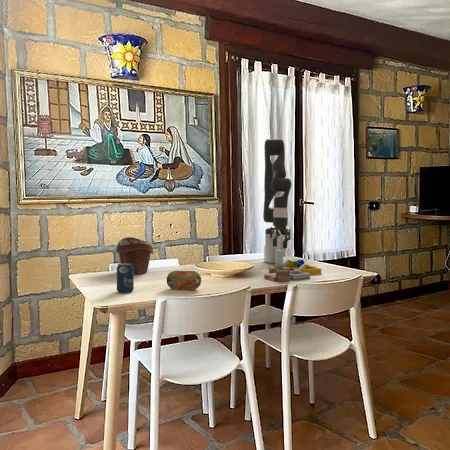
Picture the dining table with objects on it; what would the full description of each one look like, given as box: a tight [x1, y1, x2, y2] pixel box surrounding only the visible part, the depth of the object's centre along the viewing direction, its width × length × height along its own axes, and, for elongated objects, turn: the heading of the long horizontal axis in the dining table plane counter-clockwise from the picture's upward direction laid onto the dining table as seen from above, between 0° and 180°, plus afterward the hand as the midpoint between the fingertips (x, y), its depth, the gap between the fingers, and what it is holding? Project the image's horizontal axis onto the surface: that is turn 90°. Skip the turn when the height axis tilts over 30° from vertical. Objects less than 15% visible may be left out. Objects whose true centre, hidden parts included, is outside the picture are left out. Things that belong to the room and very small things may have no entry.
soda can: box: [116, 262, 135, 294], centre depth 191 cm, size 7×7×12 cm
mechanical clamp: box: [274, 259, 322, 276], centre depth 247 cm, size 18×6×30 cm
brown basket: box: [116, 236, 154, 276], centre depth 236 cm, size 18×20×18 cm
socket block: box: [268, 266, 290, 274], centre depth 239 cm, size 8×8×3 cm
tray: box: [290, 270, 311, 281], centre depth 228 cm, size 10×10×2 cm
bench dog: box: [275, 270, 291, 283], centre depth 219 cm, size 3×6×5 cm, turn 121°
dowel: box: [275, 249, 284, 269], centre depth 239 cm, size 4×4×12 cm
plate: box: [263, 273, 277, 282], centre depth 224 cm, size 8×8×2 cm
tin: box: [166, 270, 202, 292], centre depth 198 cm, size 15×3×8 cm, turn 81°
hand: (279, 247), depth 238 cm, fingers open, 8 cm apart
